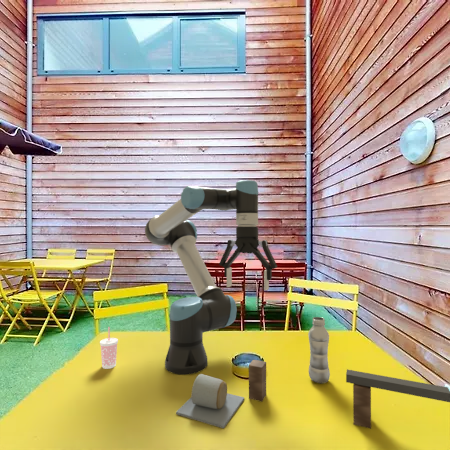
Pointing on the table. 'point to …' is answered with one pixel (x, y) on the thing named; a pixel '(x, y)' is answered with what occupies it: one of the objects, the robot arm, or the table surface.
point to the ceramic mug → (209, 392)
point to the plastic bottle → (319, 351)
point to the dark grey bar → (398, 385)
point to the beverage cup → (108, 351)
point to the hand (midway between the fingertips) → (247, 288)
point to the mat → (212, 411)
